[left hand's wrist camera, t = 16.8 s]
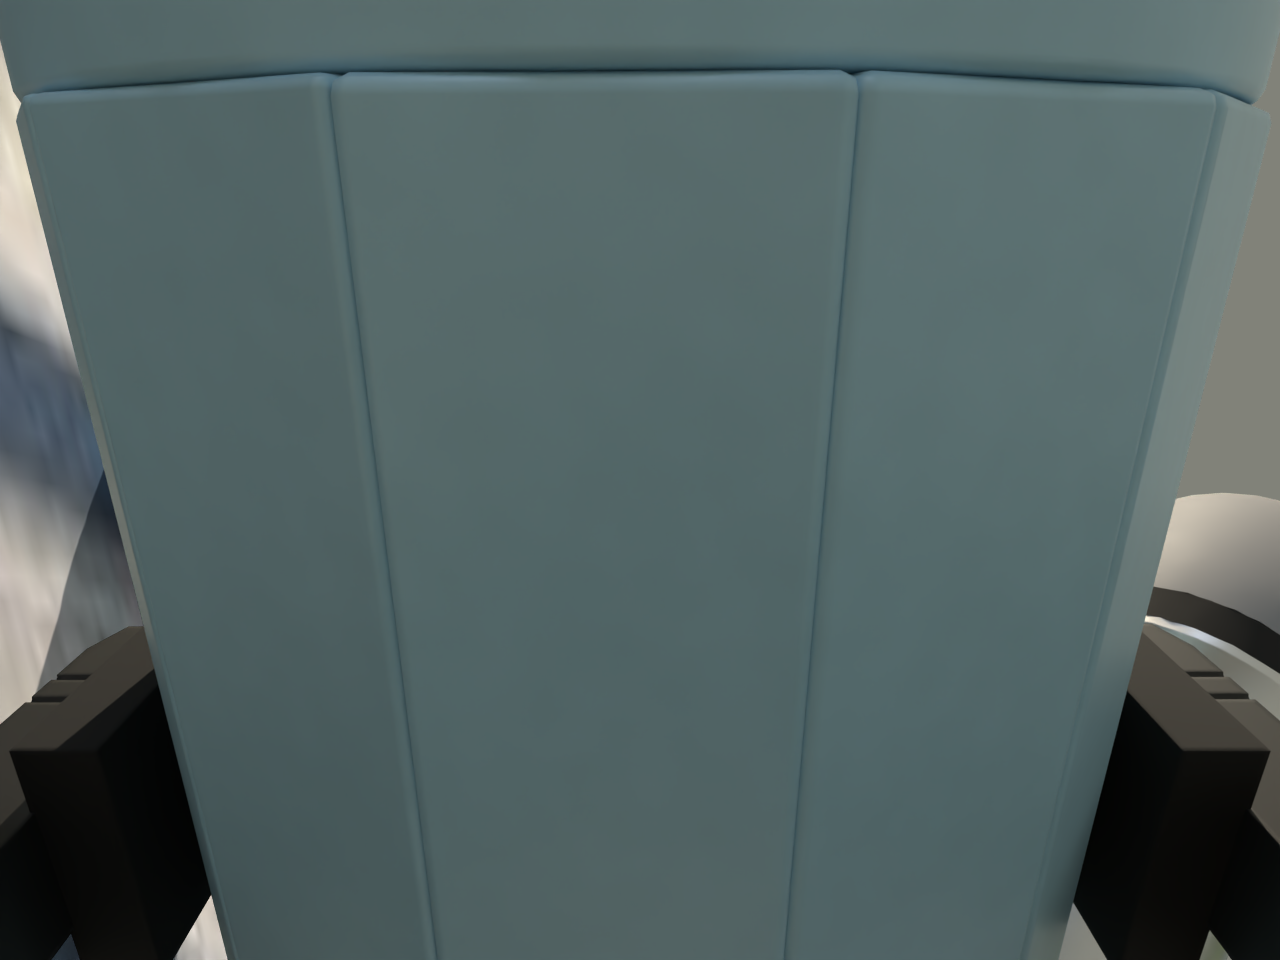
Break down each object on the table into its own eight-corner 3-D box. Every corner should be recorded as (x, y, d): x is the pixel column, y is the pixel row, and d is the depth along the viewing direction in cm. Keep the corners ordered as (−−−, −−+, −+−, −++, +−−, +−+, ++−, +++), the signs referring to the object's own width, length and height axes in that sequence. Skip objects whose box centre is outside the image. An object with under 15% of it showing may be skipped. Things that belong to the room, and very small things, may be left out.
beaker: (1879, -146, 3) (1185, 1391, 8) (884, 76, 12) (818, 756, 16) (-884, -394, 2) (178, 1689, 6) (225, 63, 10) (349, 818, 15)
